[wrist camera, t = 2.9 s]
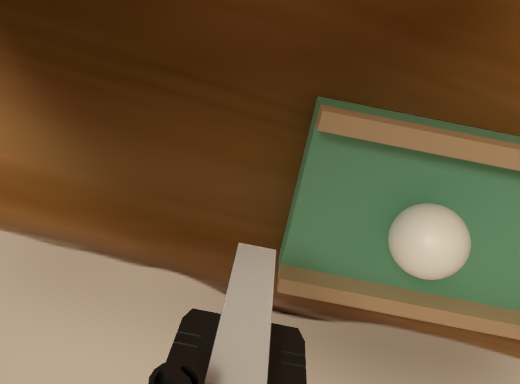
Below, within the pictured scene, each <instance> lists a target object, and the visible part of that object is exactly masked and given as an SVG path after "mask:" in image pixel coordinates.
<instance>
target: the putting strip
mask: <svg viewBox="0 0 520 384" xmlns="http://www.w3.org/2000/svg"><path fill="white" fill-rule="evenodd" d="M422 203H433V204H438V205H442V206H445V207H447V208H449V209H451V210H452V211H454V212H455V213H456V214H458V215H459V216H460V217H461V219H462V220H463V221H464V223H465V224H466V226H467V228H468V230H469V233H470V237H471V249H470V254H469V257H468V259H467V261H466V262H465V264H464V265H463V266H462V268H461V269H460V270H458V271H457V272H456V273H454V274H453V275H451V276H449V277H446V278H443V279H438V280H425V279H420V278H417V277H414V276H412V275H410V274H408V273H407V272H405V271H404V270H403V269H401V268H400V267H399V266H398V264H397V263H396V262H395V261H394V259H393V257H392V255H391V253H390V250H389V245H388V234H389V230H390V227H391V224H392V223H393V221H394V219H395V218H396V217H397V216H398V215H399V214H400V213H401V212H402V211H403V210H405V209H407V208H408V207H411V206H413V205H416V204H422ZM277 292H278V293H283V294H288V295H293V296H299V297H304V298H309V299H314V300H319V301H324V302H329V303H334V304H339V305H344V306H350V307H355V308H360V309H365V310H370V311H375V312H380V313H385V314H390V315H395V316H401V317H406V318H411V319H416V320H421V321H426V322H431V323H436V324H441V325H446V326H452V327H457V328H462V329H467V330H472V331H477V332H482V333H487V334H492V335H497V336H503V337H508V338H513V339H518V340H520V136H515V135H510V134H505V133H500V132H495V131H490V130H485V129H480V128H475V127H470V126H465V125H460V124H455V123H450V122H445V121H440V120H435V119H430V118H425V117H420V116H415V115H410V114H405V113H400V112H395V111H390V110H385V109H380V108H375V107H370V106H365V105H360V104H355V103H350V102H345V101H340V100H335V99H330V98H325V97H320V96H317V100H316V104H315V108H314V112H313V116H312V120H311V125H310V129H309V133H308V137H307V141H306V145H305V149H304V154H303V158H302V162H301V166H300V170H299V174H298V179H297V183H296V187H295V191H294V195H293V199H292V204H291V208H290V212H289V216H288V220H287V224H286V228H285V233H284V237H283V241H282V245H281V249H280V253H279V265H278V285H277Z"/></svg>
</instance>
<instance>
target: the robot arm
mask: <svg viewBox="0 0 520 384" xmlns="http://www.w3.org/2000/svg"><path fill="white" fill-rule="evenodd" d="M275 260H276V250H274V249H269V248H264V247H259V246H254V245H249V244H244V243H239V244H238V248H237V252H236V256H235V260H234V264H233V268H232V273H231V277H230V281H229V285H228V289H227V293H226V297H225V301H224V305H223V310H222V314H218V313H213V312H208V311H203V310H198V309H192V310H190V311H189V312H188V313H187V314H186V315H185V316H184V317H183V318H182V321H181V324H180V326H179V329H178V332H177V334H176V337H175V339H174V343H173V345H172V348H171V350H170V353H169V355H168V358H167V361H166V363H163V364H161V365H160V366H159V367H157V368H156V369H154V371H153V372H152V374H151V375H150V377H149V384H307V383H306V368H305V367H306V360H305V341H304V339H303V337H302V335H301V333H300V331H299V329H298V328H294V327H289V326H284V325H279V324H273V323H271V317H272V303H273V289H274V274H275Z"/></svg>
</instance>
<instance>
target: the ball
mask: <svg viewBox="0 0 520 384" xmlns="http://www.w3.org/2000/svg"><path fill="white" fill-rule="evenodd" d="M388 245H389V250H390V253H391V255H392V257H393V259H394V261H395V262H396V263H397V264H398V266H399V267H400V268H401V269H403V270H404V271H405V272H407V273H408V274H410V275H412V276H414V277H417V278H420V279H425V280H438V279H443V278H446V277H449V276H451V275H453V274H454V273H456V272H457V271H458V270H460V269H461V268H462V266H463V265H464V264H465V262H466V261H467V259H468V257H469V254H470V249H471V237H470V233H469V230H468V228H467V226H466V224H465V223H464V221H463V220H462V219H461V217H460V216H459V215H458V214H456V213H455V212H454V211H452V210H451V209H449V208H447V207H445V206H442V205H438V204H433V203H422V204H416V205H413V206H411V207H408V208H407V209H405V210H403V211H402V212H401V213H400V214H399V215H398V216H397V217H396V218H395V219H394V221H393V223H392V224H391V227H390V230H389V234H388Z"/></svg>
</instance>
